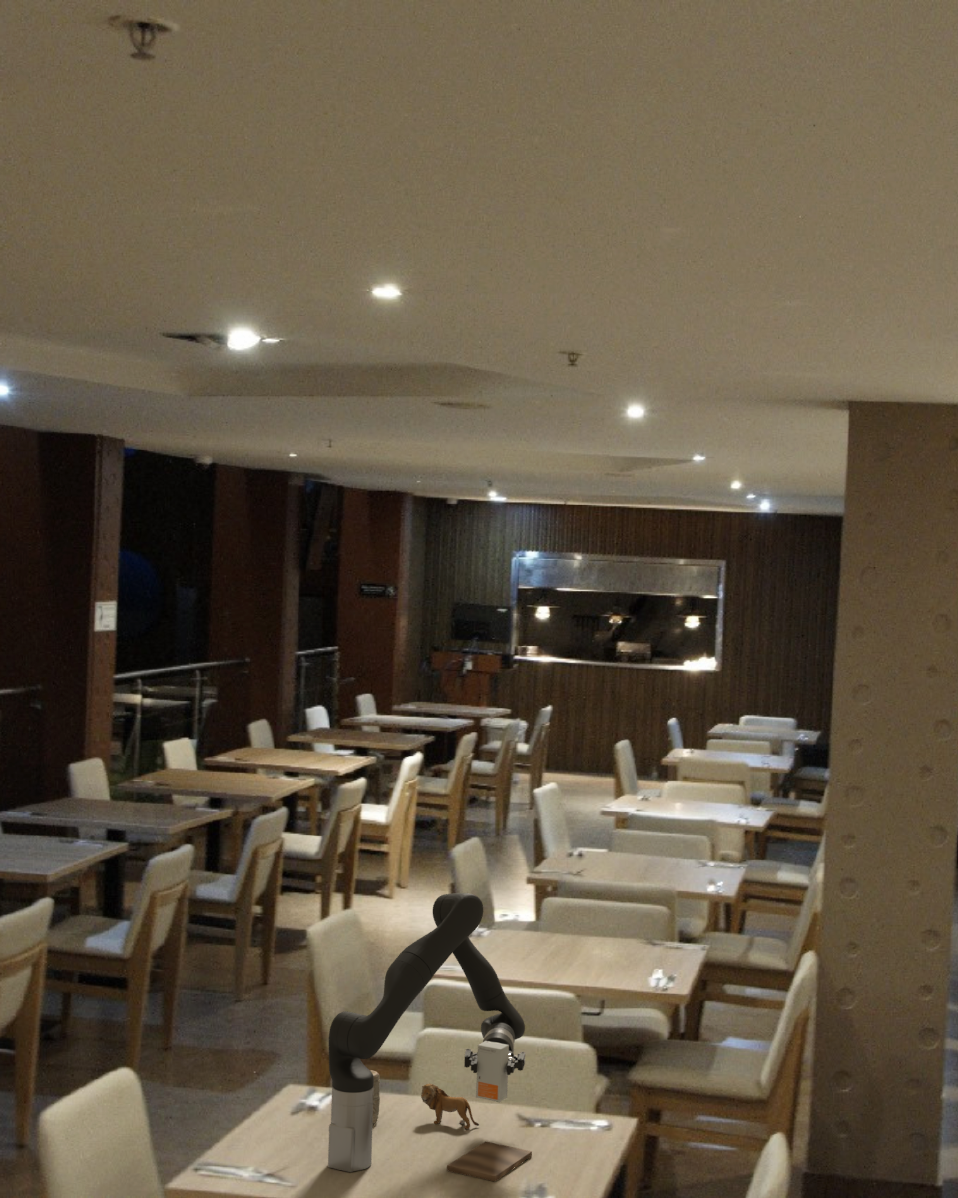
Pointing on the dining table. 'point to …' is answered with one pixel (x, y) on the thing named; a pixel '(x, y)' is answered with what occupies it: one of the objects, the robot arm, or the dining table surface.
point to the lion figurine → (446, 1104)
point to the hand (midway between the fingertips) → (492, 1069)
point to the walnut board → (489, 1161)
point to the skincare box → (492, 1071)
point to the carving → (376, 1096)
